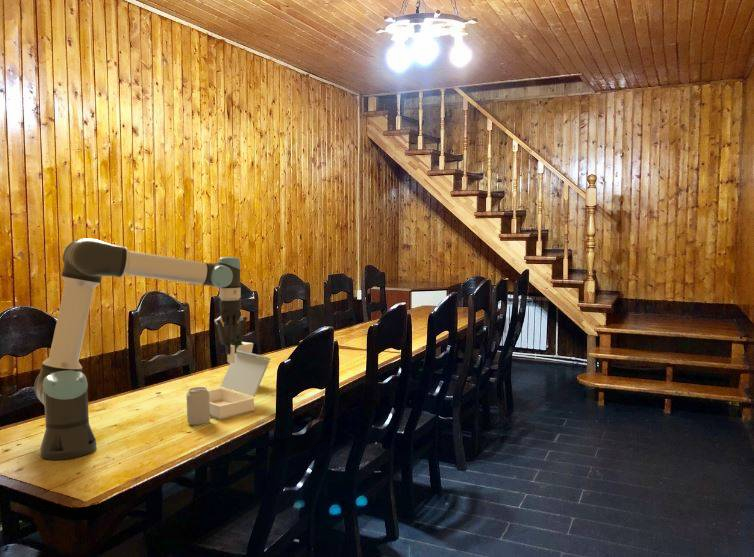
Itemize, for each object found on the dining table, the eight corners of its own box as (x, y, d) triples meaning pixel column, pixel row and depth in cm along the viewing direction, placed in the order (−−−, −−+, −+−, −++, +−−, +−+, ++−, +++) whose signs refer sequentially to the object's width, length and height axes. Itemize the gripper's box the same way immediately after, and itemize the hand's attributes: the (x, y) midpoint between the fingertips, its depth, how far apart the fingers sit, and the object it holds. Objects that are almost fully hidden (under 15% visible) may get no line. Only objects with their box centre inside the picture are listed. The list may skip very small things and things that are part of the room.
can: (203, 427, 212) (202, 391, 211) (183, 425, 213) (182, 390, 212) (213, 420, 219) (212, 386, 218) (194, 419, 221) (192, 385, 220)
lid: (266, 356, 231) (270, 358, 233) (232, 348, 247) (237, 351, 248) (249, 394, 227) (254, 396, 228) (216, 384, 242) (221, 386, 244)
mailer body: (220, 420, 219) (219, 406, 218) (188, 408, 234) (187, 394, 234) (254, 411, 229) (253, 398, 228) (221, 400, 244) (221, 387, 244)
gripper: (220, 301, 225) (221, 366, 226) (251, 298, 234) (251, 361, 236) (209, 299, 230) (210, 363, 232) (239, 297, 239) (240, 358, 241)
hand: (231, 362), depth 234 cm, fingers closed
